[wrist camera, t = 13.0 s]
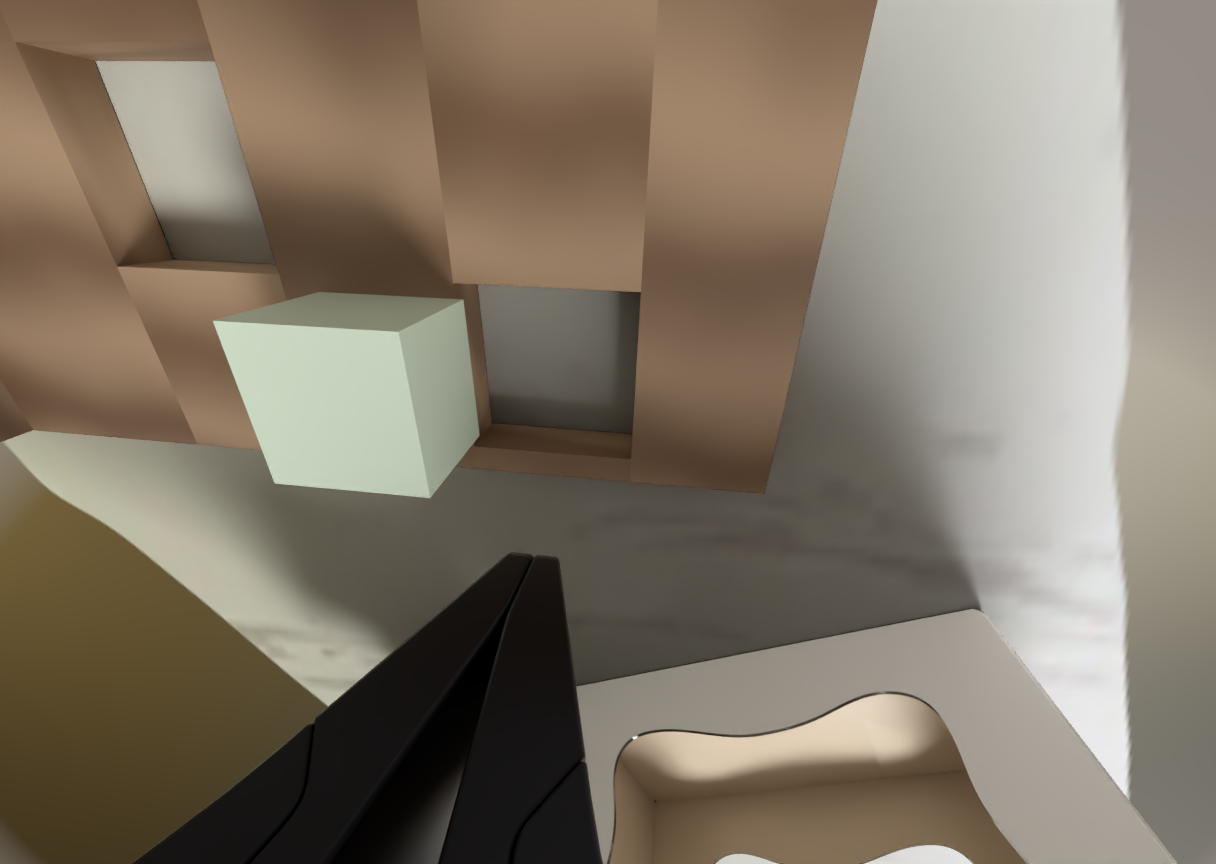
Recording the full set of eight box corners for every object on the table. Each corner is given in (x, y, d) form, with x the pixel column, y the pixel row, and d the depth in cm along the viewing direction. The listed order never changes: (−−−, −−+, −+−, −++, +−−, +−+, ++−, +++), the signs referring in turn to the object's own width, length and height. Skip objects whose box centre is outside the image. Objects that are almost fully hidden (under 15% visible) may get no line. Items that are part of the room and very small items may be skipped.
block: (479, 435, 17) (430, 497, 13) (354, 425, 17) (274, 483, 14) (463, 299, 15) (398, 331, 11) (319, 291, 15) (213, 320, 12)
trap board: (755, 465, 18) (771, 513, 16) (63, 408, 21) (-29, 441, 18) (849, 14, 12) (906, -42, 9) (-166, 21, 15) (-362, -21, 12)
